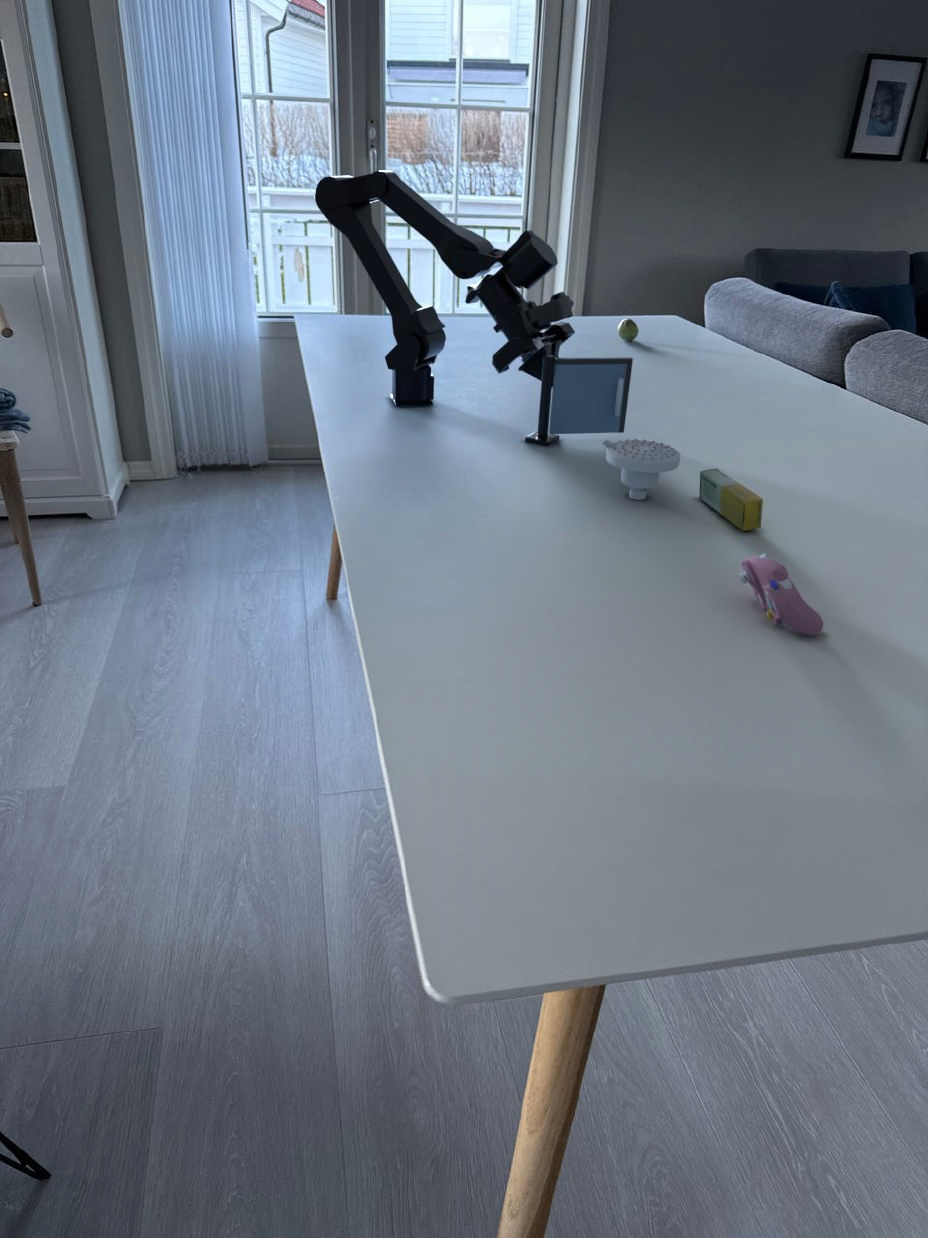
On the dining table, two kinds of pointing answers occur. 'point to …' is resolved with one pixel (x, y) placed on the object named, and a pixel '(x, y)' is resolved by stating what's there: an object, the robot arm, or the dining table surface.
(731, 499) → the medication box
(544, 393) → the hinge post
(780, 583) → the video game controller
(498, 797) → the dining table surface
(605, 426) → the shower door
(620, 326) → the lime
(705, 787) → the dining table surface
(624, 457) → the showerhead
